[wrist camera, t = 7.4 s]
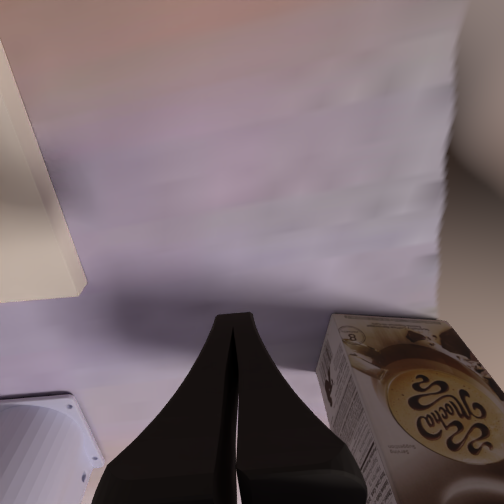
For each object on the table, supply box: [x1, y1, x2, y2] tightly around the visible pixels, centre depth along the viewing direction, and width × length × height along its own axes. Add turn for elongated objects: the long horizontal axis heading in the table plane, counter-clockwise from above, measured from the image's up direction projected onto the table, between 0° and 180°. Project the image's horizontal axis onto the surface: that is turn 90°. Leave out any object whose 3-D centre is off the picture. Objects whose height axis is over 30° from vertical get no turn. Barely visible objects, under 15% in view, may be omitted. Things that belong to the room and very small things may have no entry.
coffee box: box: [316, 314, 504, 504], centre depth 20 cm, size 9×6×16 cm
